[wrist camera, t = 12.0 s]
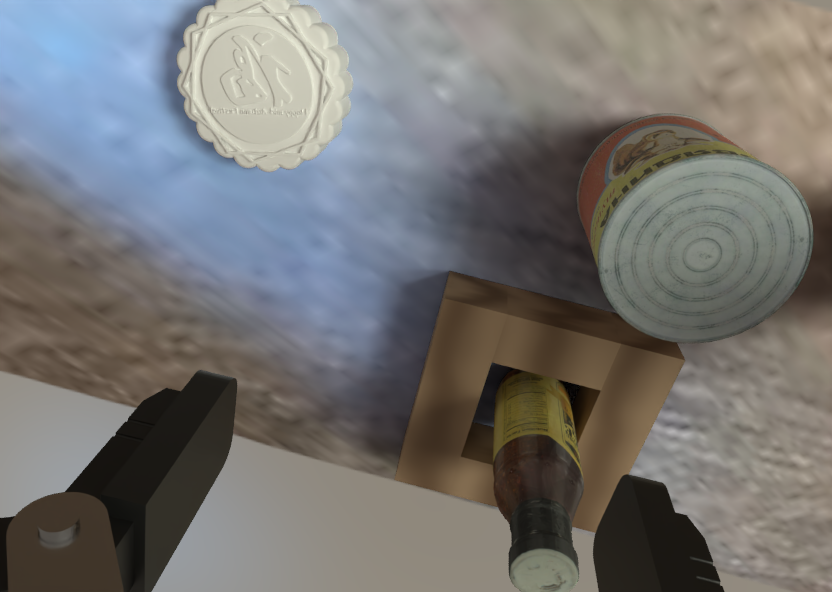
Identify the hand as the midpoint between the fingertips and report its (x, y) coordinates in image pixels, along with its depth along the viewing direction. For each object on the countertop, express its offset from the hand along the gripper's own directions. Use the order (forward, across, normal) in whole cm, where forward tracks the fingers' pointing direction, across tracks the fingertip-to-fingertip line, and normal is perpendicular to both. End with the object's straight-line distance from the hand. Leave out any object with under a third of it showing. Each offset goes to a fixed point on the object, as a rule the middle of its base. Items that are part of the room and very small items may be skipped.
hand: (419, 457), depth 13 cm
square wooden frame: (+36, -10, +21) cm, 43 cm away
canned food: (+36, -14, +2) cm, 39 cm away
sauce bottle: (+36, -10, +21) cm, 43 cm away
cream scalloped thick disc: (+37, +15, +1) cm, 40 cm away
